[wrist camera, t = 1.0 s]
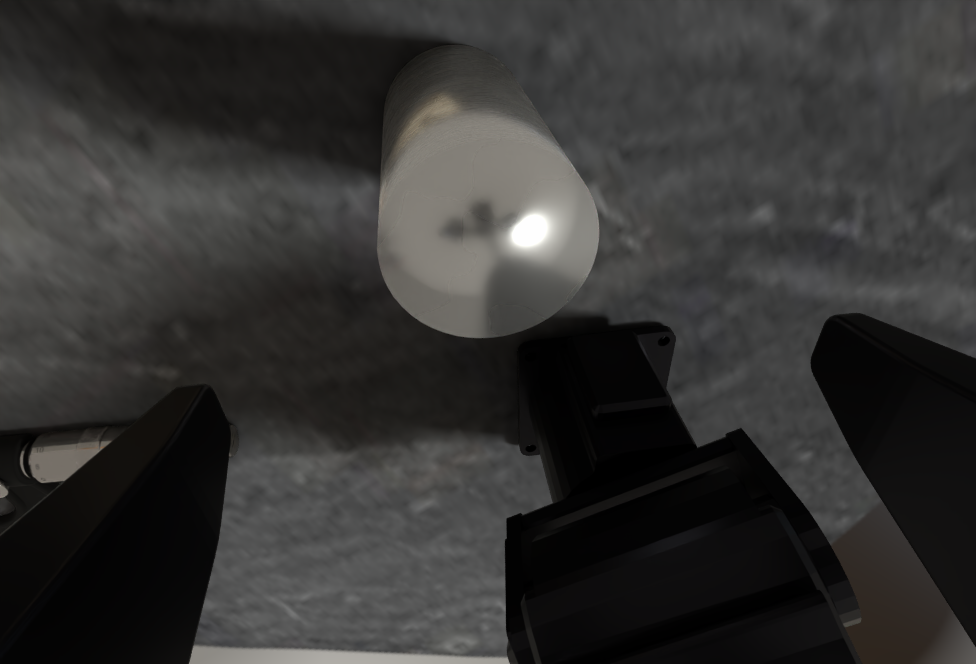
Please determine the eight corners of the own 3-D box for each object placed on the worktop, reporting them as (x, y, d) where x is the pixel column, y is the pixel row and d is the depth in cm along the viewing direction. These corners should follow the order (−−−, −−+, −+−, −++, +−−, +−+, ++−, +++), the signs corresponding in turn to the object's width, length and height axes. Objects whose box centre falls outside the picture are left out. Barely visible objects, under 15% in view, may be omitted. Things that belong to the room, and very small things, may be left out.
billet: (526, 183, 19) (591, 326, 13) (394, 196, 19) (395, 348, 12) (526, 38, 16) (608, 128, 10) (372, 50, 16) (358, 150, 10)
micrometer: (-63, 543, 27) (-100, 596, 25) (-170, 437, 22) (-226, 492, 20) (271, 508, 28) (261, 555, 26) (232, 403, 24) (218, 450, 22)
